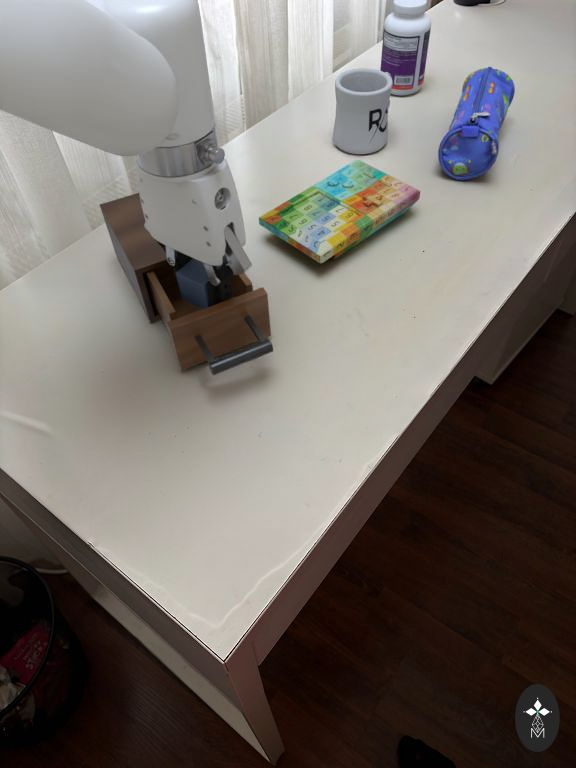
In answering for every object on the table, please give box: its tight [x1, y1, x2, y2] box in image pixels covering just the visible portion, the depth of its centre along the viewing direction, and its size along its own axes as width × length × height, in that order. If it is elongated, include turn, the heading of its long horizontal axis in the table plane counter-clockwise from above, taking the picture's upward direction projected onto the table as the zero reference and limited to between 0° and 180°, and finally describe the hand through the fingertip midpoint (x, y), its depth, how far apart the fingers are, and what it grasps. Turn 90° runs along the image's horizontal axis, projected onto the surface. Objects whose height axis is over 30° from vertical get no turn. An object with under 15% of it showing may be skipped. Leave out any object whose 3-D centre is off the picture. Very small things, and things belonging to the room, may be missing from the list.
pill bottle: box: [379, 0, 432, 96], centre depth 104 cm, size 8×8×14 cm
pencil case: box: [437, 66, 516, 181], centre depth 92 cm, size 22×9×10 cm, turn 160°
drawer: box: [143, 264, 274, 376], centre depth 68 cm, size 19×11×7 cm, turn 27°
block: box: [176, 258, 221, 309], centre depth 66 cm, size 4×4×4 cm
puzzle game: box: [258, 159, 421, 264], centre depth 83 cm, size 12×5×20 cm
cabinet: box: [99, 192, 169, 324], centre depth 76 cm, size 15×13×9 cm
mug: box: [332, 67, 393, 155], centre depth 95 cm, size 12×9×10 cm
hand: (205, 294), depth 67 cm, fingers closed on block, 4 cm apart
